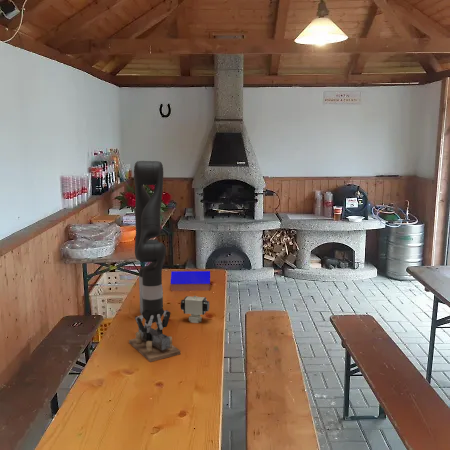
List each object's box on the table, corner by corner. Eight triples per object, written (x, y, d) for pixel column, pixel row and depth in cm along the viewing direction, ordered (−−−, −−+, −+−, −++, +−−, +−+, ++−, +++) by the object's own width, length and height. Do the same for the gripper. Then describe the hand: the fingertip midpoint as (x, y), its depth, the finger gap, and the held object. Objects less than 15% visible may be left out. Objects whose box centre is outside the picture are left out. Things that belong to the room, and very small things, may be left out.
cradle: (128, 342, 184) (128, 330, 184) (157, 336, 191) (157, 323, 190) (150, 361, 168) (149, 347, 167) (180, 354, 174) (180, 340, 173)
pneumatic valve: (207, 325, 202) (206, 298, 200) (180, 323, 204) (180, 296, 203) (210, 321, 207) (210, 294, 206) (184, 319, 210) (183, 292, 208)
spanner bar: (138, 337, 184) (138, 327, 183) (146, 334, 186) (146, 325, 185) (161, 350, 172) (161, 339, 171) (169, 347, 174) (169, 337, 173)
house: (172, 289, 255) (172, 268, 253) (210, 289, 255) (210, 268, 253) (170, 296, 243) (170, 274, 241) (210, 296, 243) (210, 274, 241)
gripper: (165, 290, 183) (166, 332, 186) (130, 296, 175) (132, 340, 178) (174, 295, 177) (175, 339, 179) (138, 301, 169) (139, 347, 172)
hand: (153, 339), depth 179 cm, fingers closed on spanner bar, 3 cm apart
